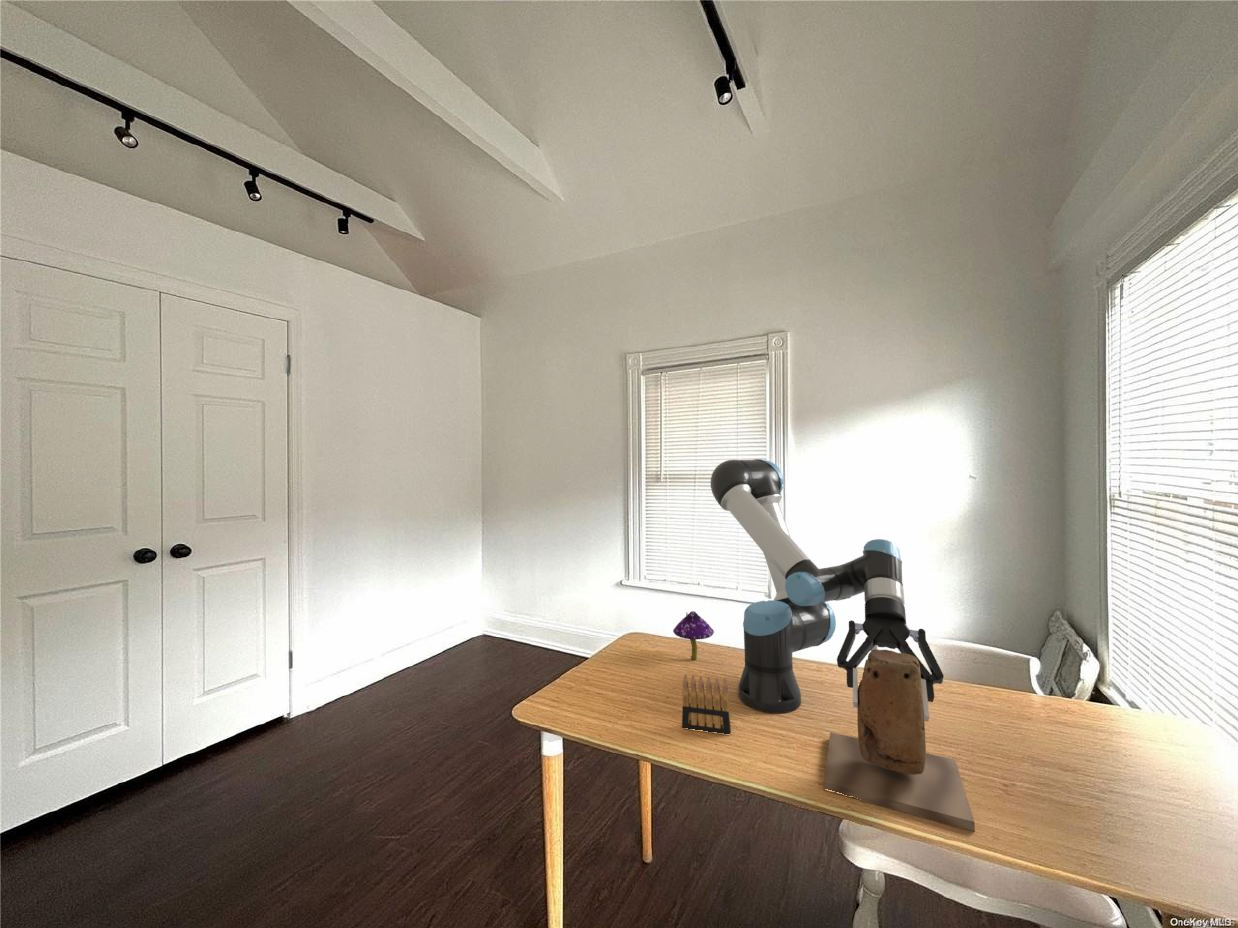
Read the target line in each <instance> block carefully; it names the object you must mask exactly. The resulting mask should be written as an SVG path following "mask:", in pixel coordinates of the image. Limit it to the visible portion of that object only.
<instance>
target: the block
mask: <svg viewBox="0 0 1238 928" xmlns="http://www.w3.org/2000/svg"><path fill="white" fill-rule="evenodd" d="M856 710H857V738H858V739H859V748H860V752H861V755H862V758H863V759H864V760H866V761H868V762H870V763H874V764H876V765H878V766H880V767H883V768H885V769H889V770H892V771H896V772H899V773H903V774H911V775H916V774H922V772H923V771H924V766H925V759H926V753H927V747H926V746H927V745H926V744H927V743H926V727H925V723H926V721H924V710H923V695H922V684H921V673H920V666H919V662H918V660H917V659H916V657H914V656H912V655H909V654H904V653H901V652H896V651H893V650H890V649H889V650H888V649H872V650H870V651H869V653H868V654H867V659H866V660H865V663H864V667H863V673H862V677H861V680H860V682H859V683H858V708H857V709H856Z"/></svg>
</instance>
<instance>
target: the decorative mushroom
mask: <svg viewBox="0 0 1238 928" xmlns="http://www.w3.org/2000/svg"><path fill="white" fill-rule="evenodd" d="M672 631H673V634H674V635H675V636H676V637H679V638H681V639H685V640H689V641H690V644H691V656H690V659H691V661H697V659H698V645H697V641H698V640H705V639H708V638H710V637H712V636H713V635H714V633H715V631H714V629H713V628H712V627H711V626H710V624H709V623H707V621H706V620H705V619H704V618H702V617H701V616H700V615H699V614H698V613H697V612H696V611H693V610H692V611H690V612H689V613H688V614H687V615H686V616H684V617H683V618H682V619H681V620H680V621H679V622H678V623H677V624H676V626H675V627H674V628H673V630H672ZM696 640H697V641H696Z"/></svg>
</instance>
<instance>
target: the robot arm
mask: <svg viewBox="0 0 1238 928" xmlns="http://www.w3.org/2000/svg"><path fill="white" fill-rule="evenodd" d="M784 480H785V479H784V475H783V473H782V471H781V469H780V467H778V465H776V464H775V463H774V462H772V461H770V460H768V459H767V460H765V459H762V458H761V459H759V458H757V459H728V460H725V461H723V462H721V463H719V464H718V465H717V466H716V467H715V468H714V469H713V471H712V474H711V476H710V490H711V493H712V496H713V497H714V499H715V501H716V502H717V503H718V505H719V506H720V507H721V509H723V510H724V511H727V512H729V513H731V515H732V516H733V517H734V519H735V520H736V521H737V522H738V524H739V525H741V527H742V529H743V530H744V531H745V532H746V533H747V534H748V536H749V537H750V538H751V539H752V540H753V541H754V543H755V544H756V545H757V546H758V548H759V549H760V550H761V551H762V553H763V556H764V559H765V562H766V565H767V568H768V570H769V574H770V577H771V579H772V580H771V581H772V583H773V586H774V588H775V592H776V594H775V597H774V598H773V600H760V601H759V600H758V601H756V602H752V603H751V604H749V605H748V606H747V607H746V608H745V609H744V612H743V623H742V627H743V641H744V642H743V643H744V646H743V647H744V648H743V649H744V667H743V671H742V674H741V677H740V679H739V682H738V690H737V691H738V698H739V699H740V701H741V702H742V703H743V704H745V705H746V706H748V707H750V708H751V709H752V708H753V709H754V710H757V711H762V712H765V713H774V714H776V713H778V714H780V713H781V714H782V713H790V712H793V711H795V710H797V709H799V708H800V707H801V705H802V694H801V693H802V692H801V690H800V687H799V684H798V682H797V679H796V676H795V673H794V670H793V669H794V668H793V667H794V666H793V653H796V652H799V651H802V650H805V649H806V650H807V649H808V648H812V647H820V645H822V644H824V643H827V642H828V641H829V640H831V638H832V637H833V636H834V633H835V631H836V627H837V626H836V625H837V624H836V623H837V622H836V621H837V620H836V615H835V613H834V610H833V608H832V606H830V604H829V603H827V602H830V601H835V602H836V601H843V600H846V599H850V598H852V597H855V596H857V595H859V594H862V593H864V594H863V595H864V621H863V623H858V622H855V621H854V620H849V621H848V631H847V634H846V636H845V639H844V641H843V643H842V645H841V647H840V651H839V653H838V654H837V658H836V664H837V666H838V668H840V669H844V670H845V671H846V686H847V688H851V689H852V705H853V708H858V686H859V682H858V680H859V677H858V666H859V665H860V664H861V663H862V661H863V660H864V659H865V658H866V657H867V656H868V655H869V653H870V652H871V651H872V650H874V648H875V646H877V647H878V648H887V649H888V648H889V649H892V650H896V649H897V650H898V651H899V653H904V654H909V655H912V656H914V657H916V659H917V660H918V662H919V666H920V673H921V684H922V695H923V710H924V722H929V721H930V711H929V710H930V709H929V702H930V703H933V702H934V700H935V690H934V685H935V684H938V685H941V684H943V683H944V673H943V671H942V669H941V667H940V664H939V663H938V661H937V659H936V658H935V655H934V653H933V651H932V649H931V647H930V646H929V643H928V641H927V637H926V636H927V635H926V630H925V629H924V628H919V629H918V630H914V629H910V628H909V626H908V625H907V619H906V618H907V615H906V608H905V593H904V592H905V591H904V583H903V570H902V568H903V567H902V564H903V561H902V559H901V553H900V548H899V547H898V546H897V544H895V543H893V542H892V541H890V540H888V539H883V538H880V539H879V538H877V539H876V538H875V539H871V540H869V541H866V543H865V544H864V546H863V549H862V550H863V551H862V555H861V556H859V557H857V558H854V559H852V560H850V561H848V562H845V563H843V564H839V565H834V566H830V567H823V568H819V567H818V566H817V565H816V564H815V562H813V561H812V560H811V559H810V558H809V556H808V555H807V554H806V553H805V552H804V551H803V550H802V549H801V548H800V547H799V545H798V544H797V543H796V542H795V541H794V540H793V538H792V537H791V534H790V532H789V529H788V527H787V524H786V523H787V522H786V521H785V517H784V515H783V512H782V509H781V507H780V502H781V501H782V497H783V495H782V494H781V493H782V491H783V488H784V486H783V485H784V484H785V483H784V482H785V481H784ZM862 631H863V633H864V634H865V635H866V638H865V639H864V641H863V642H862V644H861V645H859V647H858V648H857V649H856V650H855V652H854V653H853V655H852V656H851V657H850V658H849V659H848V657H849V654H850V652H851V650H852V647H853V645H854V642H855V640H856V635H857V636H858V635H860V632H862ZM908 638H912V639H913V641H914V642H915V643H917V645H918V648H919V650H920V652H921V655H922V657H923V658H924V660H925V663H926V664H927V667H928V668H929V670H928V669H927V668H926V666H925V665H924V664H923V663H922V661H921V660H920V659H919V657H918V656H917V655H916V654H915V652H914V651H913V650H912V649H911V647H910V646H909V643H908V641H907V639H908ZM847 659H848V660H847Z"/></svg>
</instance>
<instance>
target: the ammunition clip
mask: <svg viewBox="0 0 1238 928" xmlns="http://www.w3.org/2000/svg"><path fill="white" fill-rule="evenodd" d="M704 686H705V685H704V680H703V676H702V675H700V676H699V679H698V689H697V683H696V677H695V675H694V674H692V675H691V678H690V689H689V679H688V675H687V674H686V673H685V674H684V676H683V680H682V693H681V695H682V700H681V701H682V711H681V712H682V713H681V715H682V716H681V729H682V728H688V729H695V730H703V731H708V732H717V733H724V734H730V733H732V732H731V731H732V728H731V727H732V726H731V715H730V696H729V688H728V686H729V685H728V681H727V679H726V677H724V679H723V682H722V692H721V687H720V681H719V678H718V677H716V678H715V680H714V687H712V681H711V677H710V676H707V679H706V687H704ZM705 688H706V689H705ZM712 688H713V689H714V691H713V689H712ZM697 690H698V692H697ZM713 693H714V694H713ZM721 693H722V694H721Z"/></svg>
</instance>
